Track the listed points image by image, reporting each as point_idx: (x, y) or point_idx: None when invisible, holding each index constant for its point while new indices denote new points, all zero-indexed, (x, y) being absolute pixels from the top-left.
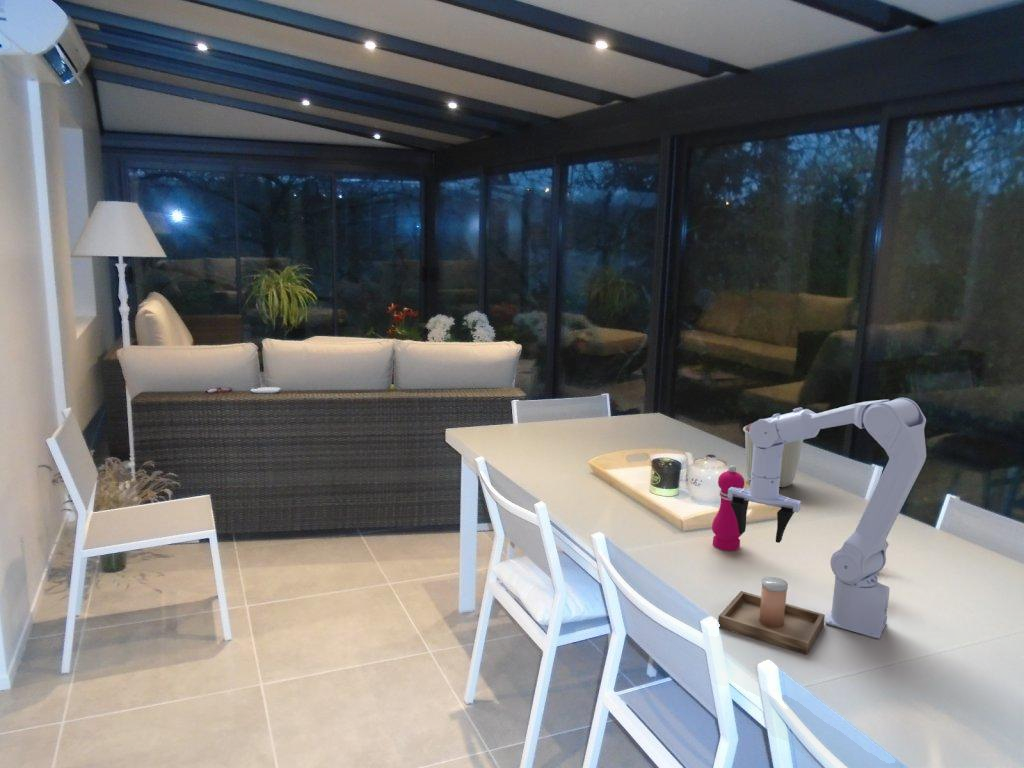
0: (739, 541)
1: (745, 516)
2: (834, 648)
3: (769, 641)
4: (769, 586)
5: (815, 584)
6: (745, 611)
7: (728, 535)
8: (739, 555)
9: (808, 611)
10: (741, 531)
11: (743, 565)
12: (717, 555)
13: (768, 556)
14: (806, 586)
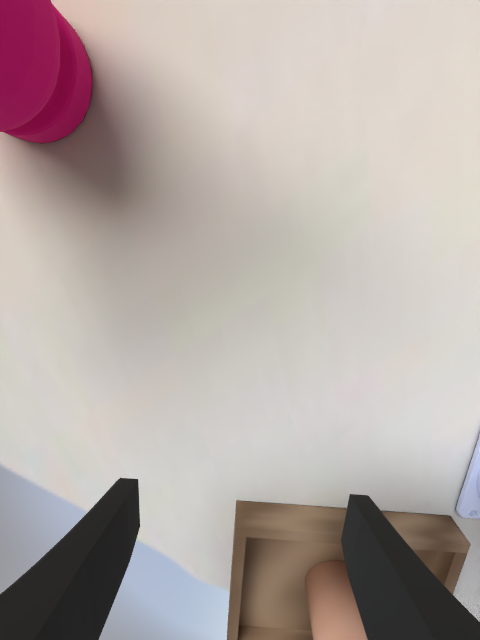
0: (72, 55)
1: (81, 587)
2: (469, 591)
3: None
4: None
5: (430, 273)
6: (267, 566)
7: (14, 126)
8: (123, 161)
9: (426, 548)
10: (130, 545)
11: (169, 256)
12: (55, 218)
13: (227, 89)
14: (400, 308)
